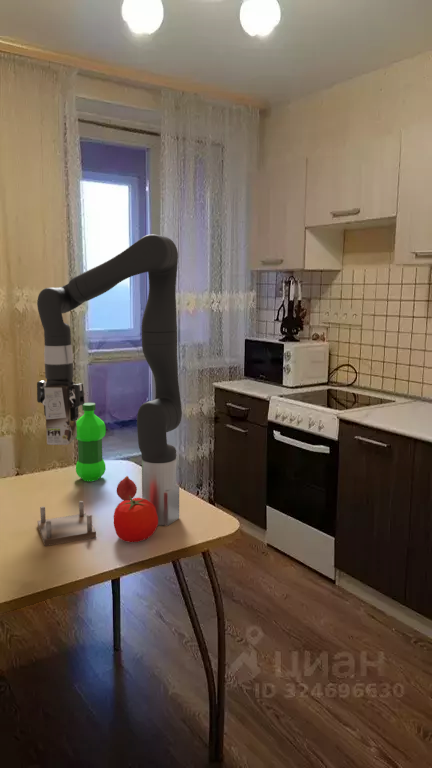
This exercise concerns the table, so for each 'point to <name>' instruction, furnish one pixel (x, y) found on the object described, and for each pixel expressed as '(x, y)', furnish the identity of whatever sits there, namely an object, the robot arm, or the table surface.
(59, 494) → the table surface
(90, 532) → the pin holder
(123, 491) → the onion
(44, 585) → the table surface
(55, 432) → the coffee box
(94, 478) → the plastic bottle
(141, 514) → the tomato
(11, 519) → the table surface
